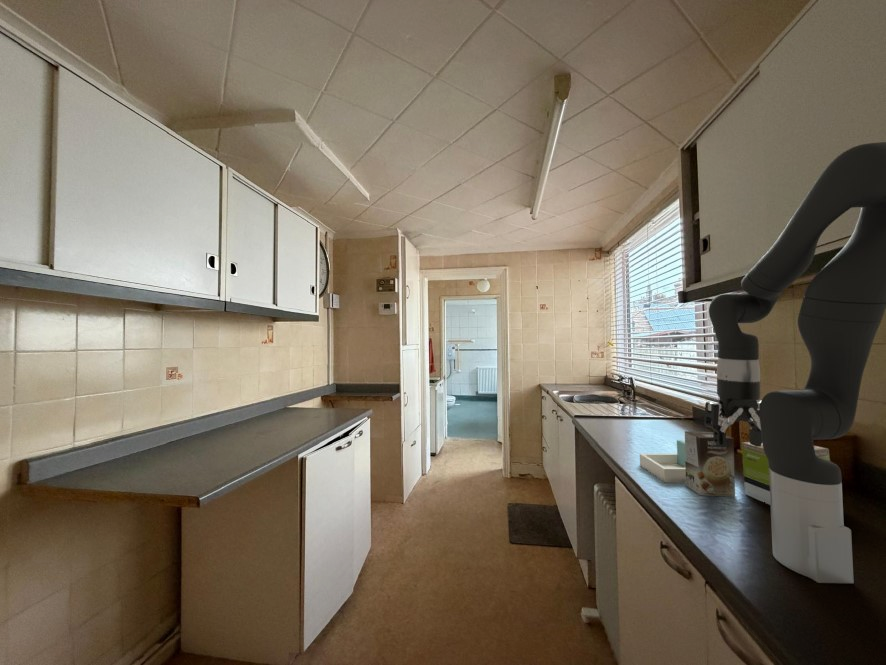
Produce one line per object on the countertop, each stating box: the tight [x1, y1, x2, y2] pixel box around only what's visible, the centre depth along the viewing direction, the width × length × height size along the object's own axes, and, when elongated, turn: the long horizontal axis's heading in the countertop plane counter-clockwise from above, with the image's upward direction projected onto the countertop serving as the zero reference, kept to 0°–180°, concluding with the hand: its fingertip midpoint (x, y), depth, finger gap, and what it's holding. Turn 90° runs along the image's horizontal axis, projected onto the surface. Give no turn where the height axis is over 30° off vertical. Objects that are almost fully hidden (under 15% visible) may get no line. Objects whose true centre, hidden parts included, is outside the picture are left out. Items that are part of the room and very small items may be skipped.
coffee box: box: [684, 430, 736, 498], centre depth 90 cm, size 9×6×16 cm
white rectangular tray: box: [639, 453, 686, 483], centre depth 102 cm, size 13×18×4 cm
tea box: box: [741, 441, 831, 506], centre depth 85 cm, size 15×10×15 cm
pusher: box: [676, 439, 685, 467], centre depth 102 cm, size 10×2×8 cm, turn 177°
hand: (737, 445), depth 75 cm, fingers open, 8 cm apart
